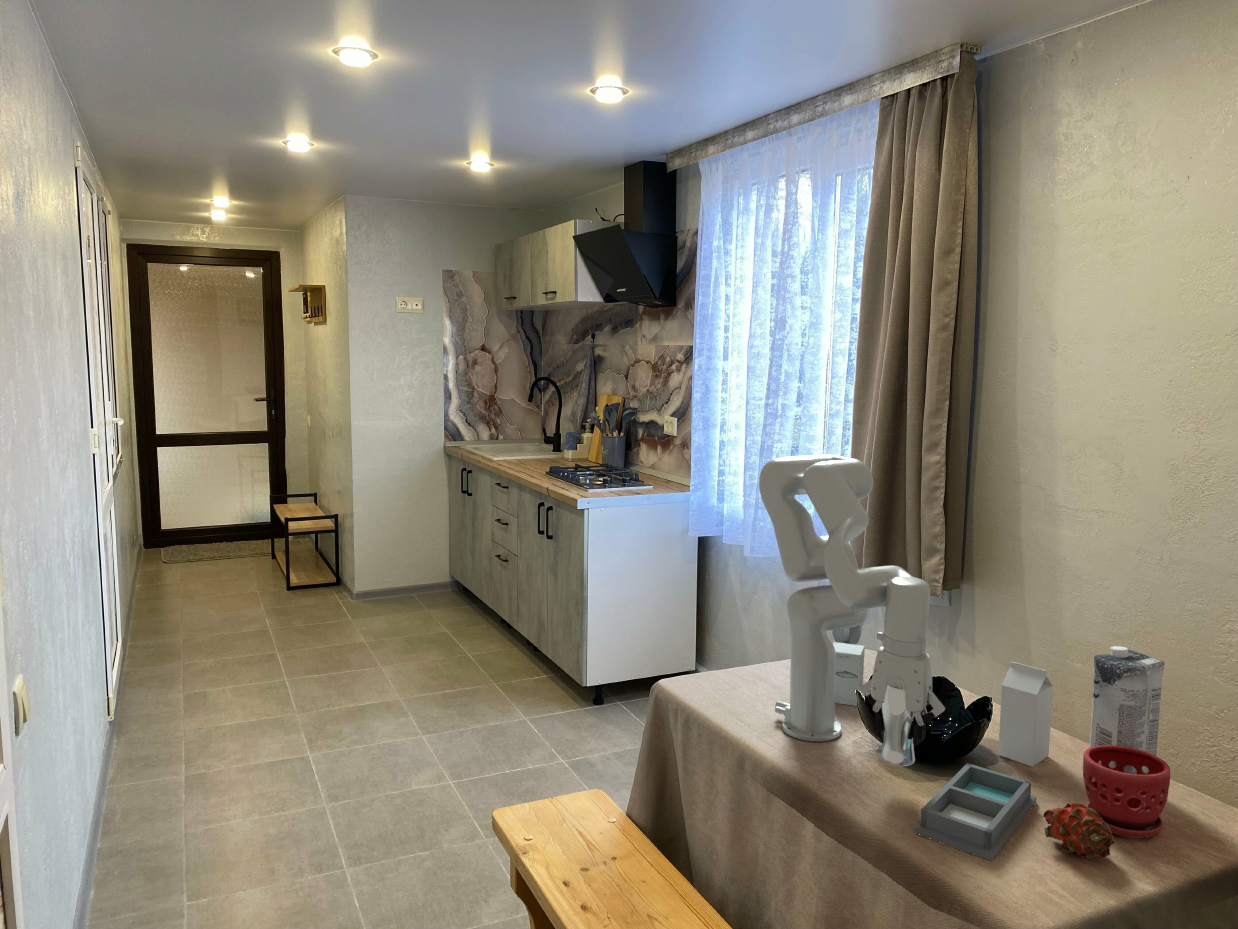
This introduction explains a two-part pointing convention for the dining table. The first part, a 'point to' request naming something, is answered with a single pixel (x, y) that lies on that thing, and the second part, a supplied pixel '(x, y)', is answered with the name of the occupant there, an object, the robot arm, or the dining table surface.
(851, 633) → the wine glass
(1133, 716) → the juice carton
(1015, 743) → the milk carton
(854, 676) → the supplement box
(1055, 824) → the dragon fruit
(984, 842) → the gray divided sorting tray
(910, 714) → the silver metal cup
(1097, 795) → the plant pot
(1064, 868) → the dining table surface
